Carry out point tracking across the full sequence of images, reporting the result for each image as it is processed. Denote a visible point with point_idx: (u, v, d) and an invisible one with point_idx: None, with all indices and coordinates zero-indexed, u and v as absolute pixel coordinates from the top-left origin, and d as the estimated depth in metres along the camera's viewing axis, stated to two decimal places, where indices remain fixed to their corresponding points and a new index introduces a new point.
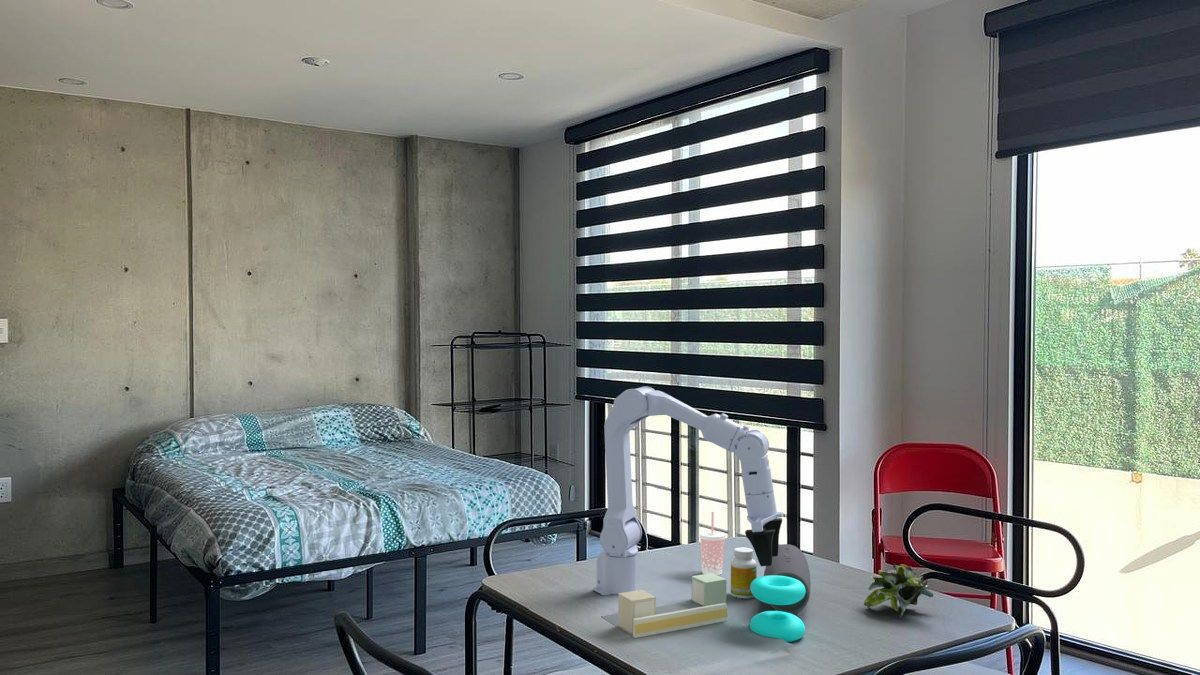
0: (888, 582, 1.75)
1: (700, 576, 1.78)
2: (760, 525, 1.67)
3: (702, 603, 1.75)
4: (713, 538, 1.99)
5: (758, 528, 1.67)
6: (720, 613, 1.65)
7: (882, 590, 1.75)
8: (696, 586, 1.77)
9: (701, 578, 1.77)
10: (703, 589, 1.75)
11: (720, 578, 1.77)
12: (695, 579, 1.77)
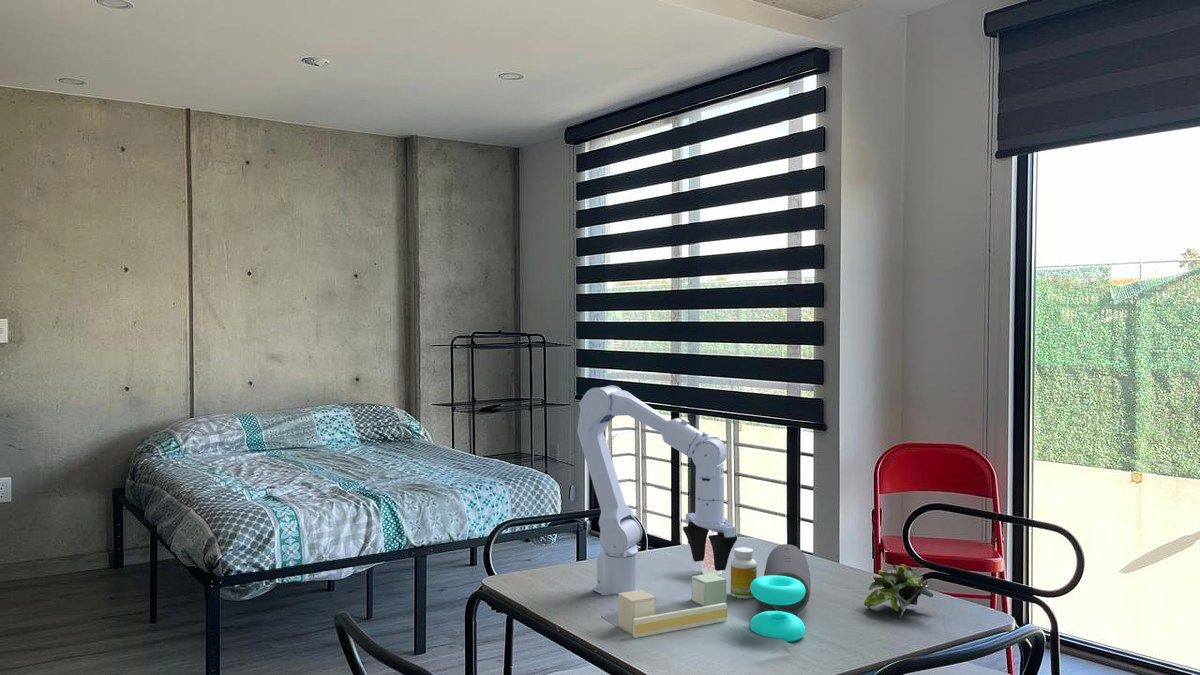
0: (888, 582, 1.75)
1: (700, 576, 1.78)
2: (734, 530, 1.71)
3: (702, 603, 1.75)
4: None
5: (732, 533, 1.71)
6: (720, 613, 1.65)
7: (882, 590, 1.75)
8: (696, 586, 1.77)
9: (701, 578, 1.77)
10: (703, 589, 1.75)
11: (720, 578, 1.77)
12: (695, 579, 1.77)
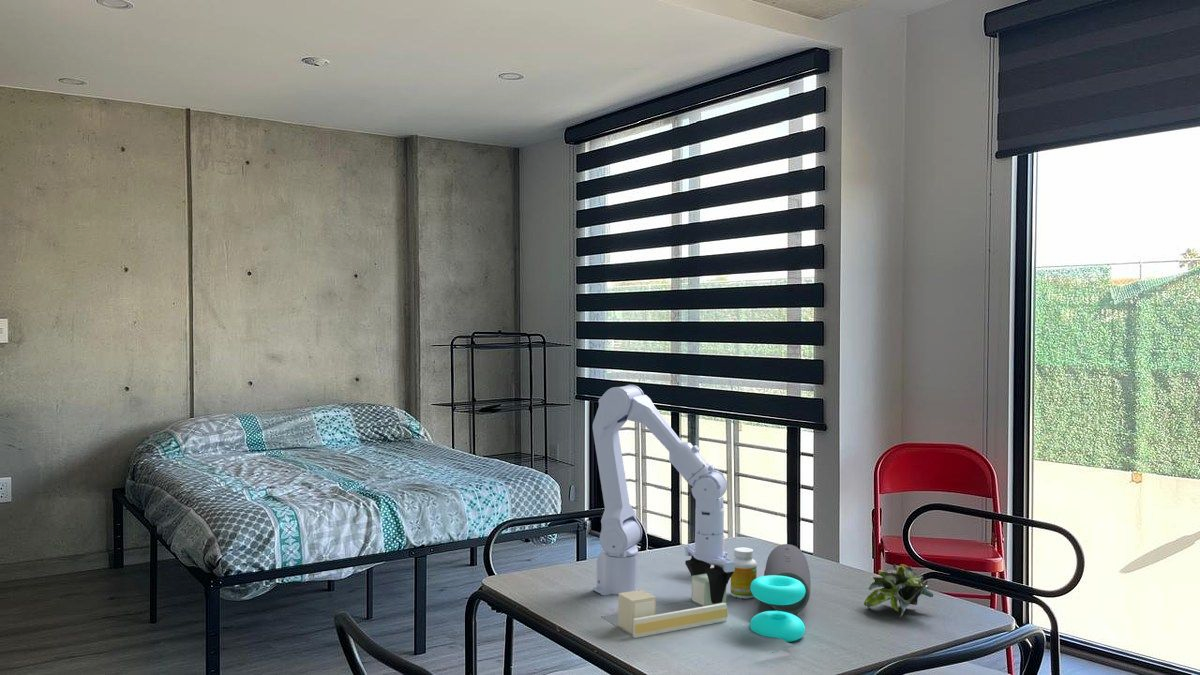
0: (888, 582, 1.75)
1: (700, 576, 1.78)
2: (733, 565, 1.72)
3: (702, 603, 1.75)
4: None
5: (731, 568, 1.71)
6: (720, 613, 1.65)
7: (882, 590, 1.75)
8: (696, 586, 1.77)
9: (701, 577, 1.77)
10: (703, 589, 1.75)
11: None
12: (695, 579, 1.77)
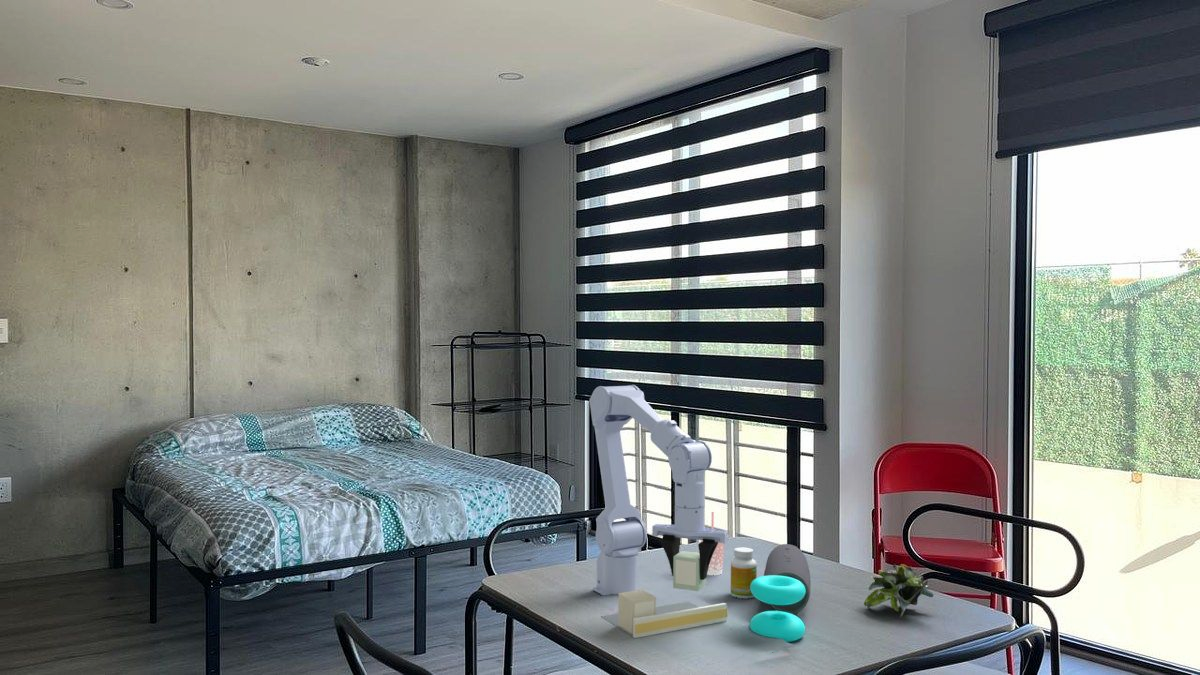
0: (888, 582, 1.75)
1: (680, 555, 1.68)
2: (727, 535, 1.65)
3: (693, 582, 1.65)
4: None
5: (726, 538, 1.65)
6: (720, 613, 1.65)
7: (882, 590, 1.75)
8: (682, 566, 1.66)
9: (685, 556, 1.67)
10: (695, 567, 1.65)
11: None
12: (680, 558, 1.66)
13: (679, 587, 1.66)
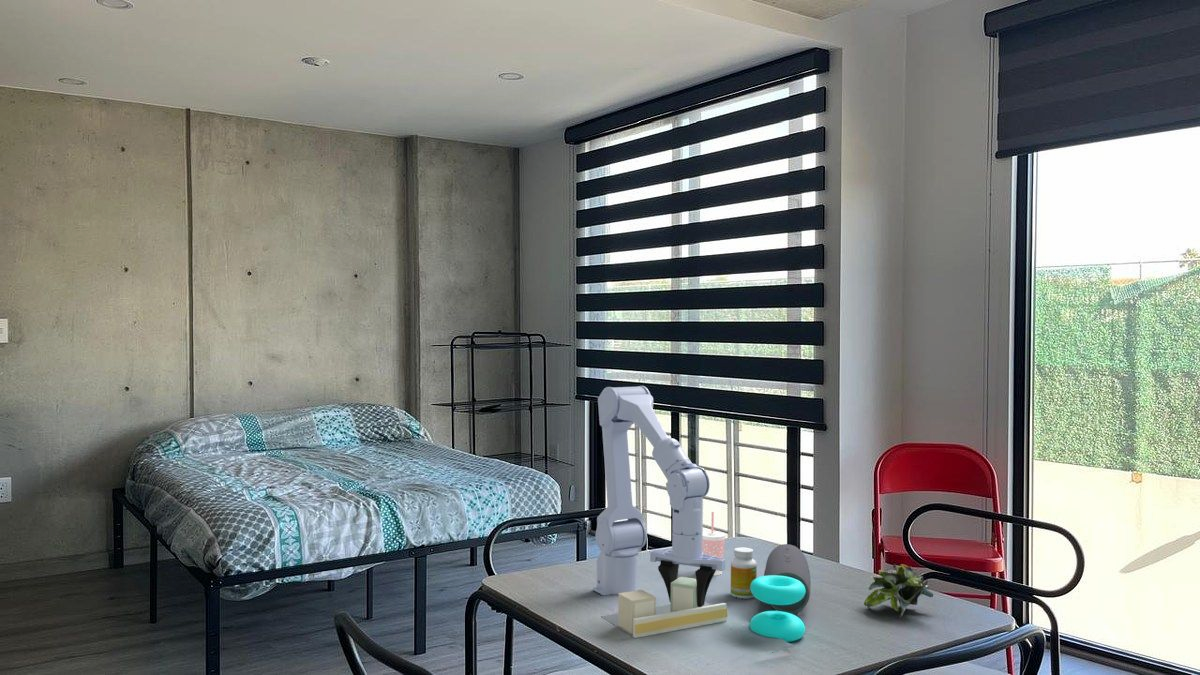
0: (888, 582, 1.75)
1: (678, 581, 1.67)
2: (724, 562, 1.64)
3: None
4: (713, 538, 1.99)
5: (724, 566, 1.64)
6: (720, 613, 1.65)
7: (882, 590, 1.75)
8: (679, 592, 1.65)
9: (682, 583, 1.66)
10: (691, 594, 1.64)
11: None
12: (677, 585, 1.65)
13: None
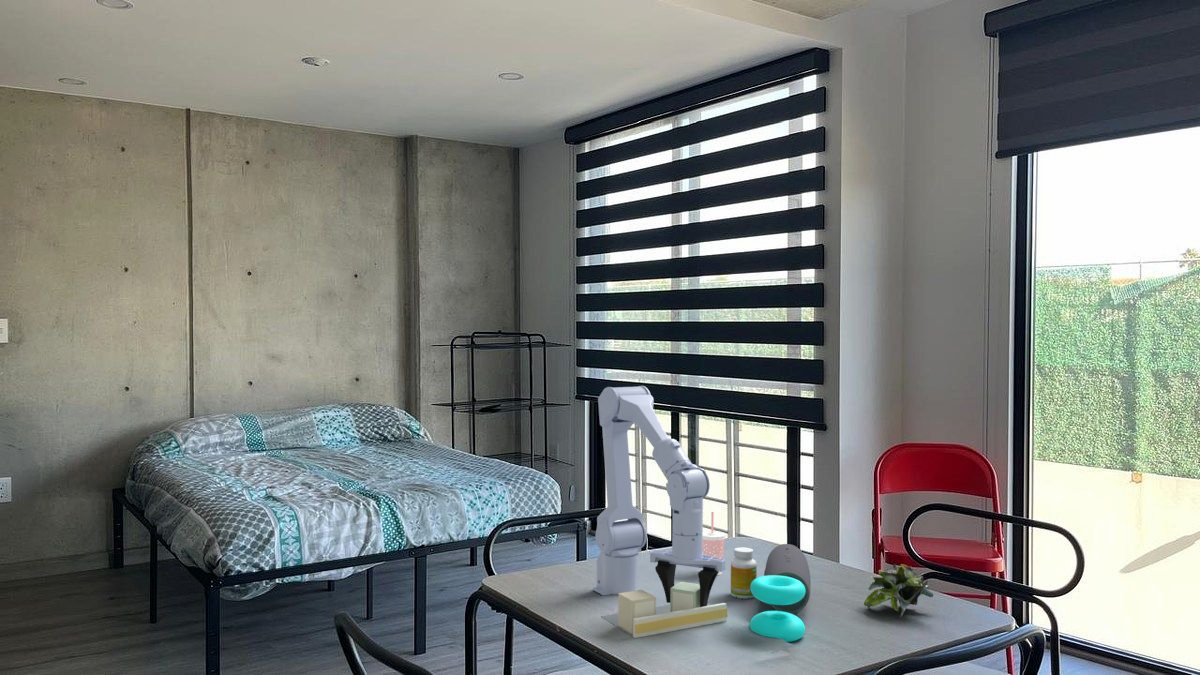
0: (888, 582, 1.75)
1: (678, 586, 1.67)
2: (724, 563, 1.64)
3: None
4: (713, 538, 1.99)
5: (724, 567, 1.64)
6: (720, 613, 1.65)
7: (882, 590, 1.75)
8: (679, 598, 1.65)
9: (682, 588, 1.66)
10: (691, 599, 1.64)
11: (698, 585, 1.68)
12: (677, 591, 1.65)
13: None
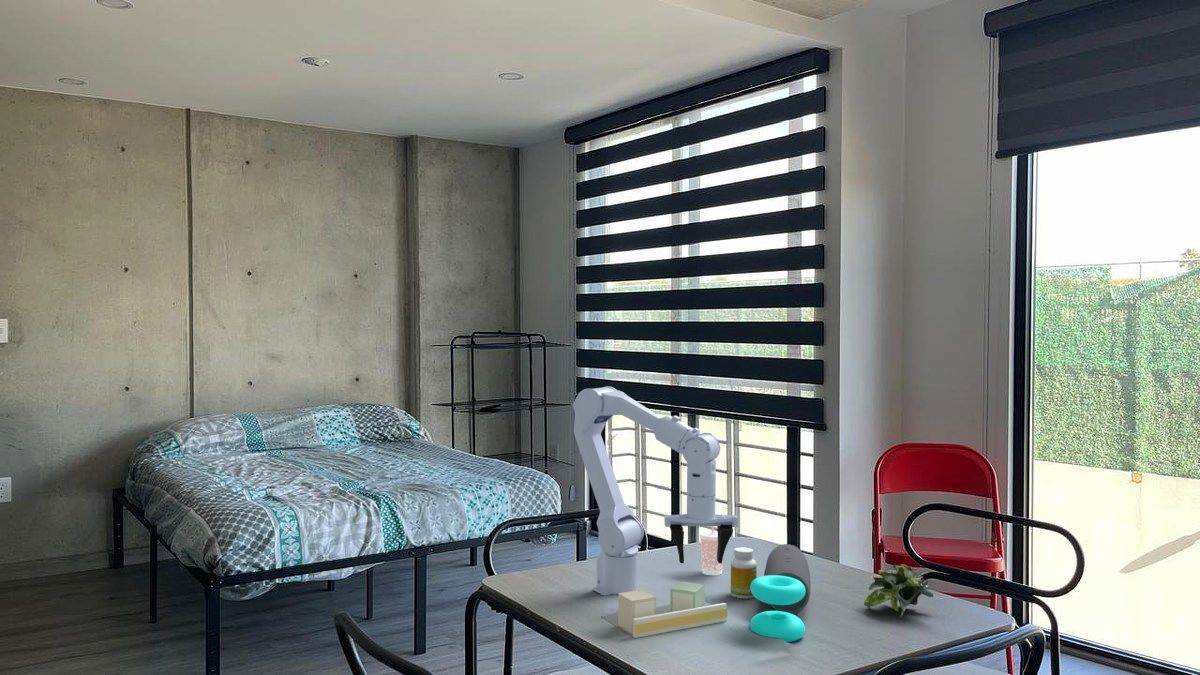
0: (888, 582, 1.75)
1: (678, 586, 1.67)
2: None
3: None
4: (713, 538, 1.99)
5: None
6: (720, 613, 1.65)
7: (882, 590, 1.75)
8: (679, 598, 1.65)
9: (682, 588, 1.66)
10: (691, 599, 1.64)
11: (698, 585, 1.68)
12: (677, 591, 1.65)
13: None
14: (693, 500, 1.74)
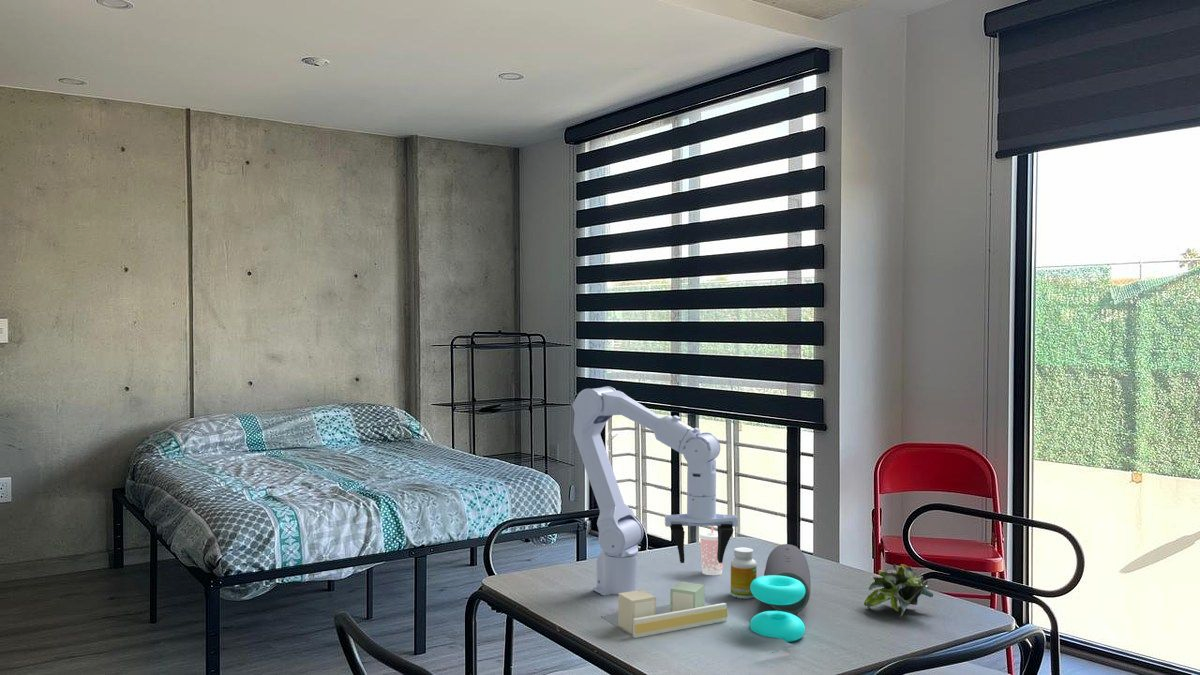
0: (888, 582, 1.75)
1: (678, 586, 1.67)
2: None
3: None
4: (713, 538, 1.99)
5: None
6: (720, 613, 1.65)
7: (882, 590, 1.75)
8: (679, 598, 1.65)
9: (682, 588, 1.66)
10: (691, 599, 1.64)
11: (698, 585, 1.68)
12: (677, 591, 1.65)
13: None
14: (693, 500, 1.74)
